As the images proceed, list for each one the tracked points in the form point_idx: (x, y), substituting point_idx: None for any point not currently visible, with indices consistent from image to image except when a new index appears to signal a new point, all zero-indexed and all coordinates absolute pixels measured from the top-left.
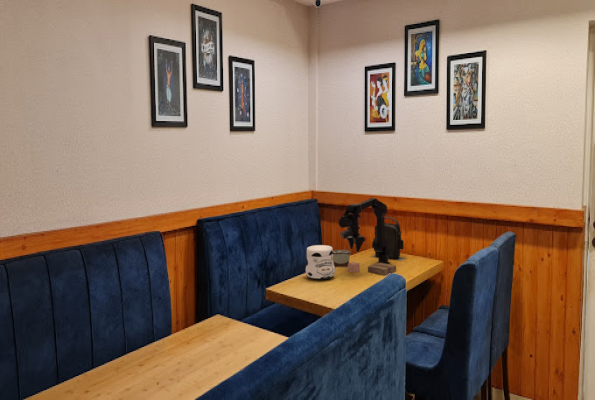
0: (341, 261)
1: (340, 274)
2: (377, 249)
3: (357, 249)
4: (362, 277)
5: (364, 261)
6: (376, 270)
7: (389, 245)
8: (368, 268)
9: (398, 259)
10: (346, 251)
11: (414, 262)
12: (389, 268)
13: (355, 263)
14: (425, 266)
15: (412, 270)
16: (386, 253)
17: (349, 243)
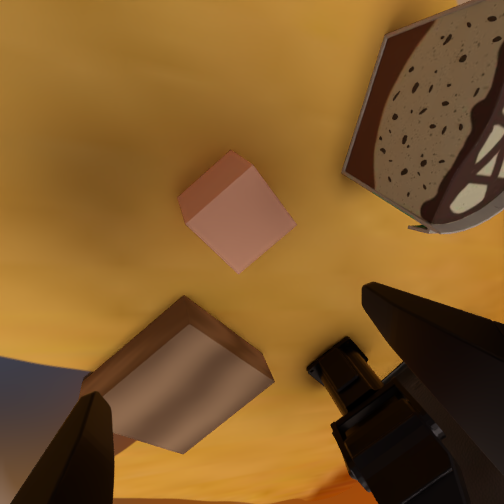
0: (397, 116)
1: (117, 39)
2: (387, 423)
3: (49, 470)
4: (9, 251)
5: (409, 280)
6: (126, 362)
7: (444, 442)
8: (184, 315)
9: None
10: (495, 198)
11: (307, 452)
12: (131, 434)
13: (236, 240)
14: (242, 487)
15: (189, 467)
16: (336, 440)
17: (467, 342)
